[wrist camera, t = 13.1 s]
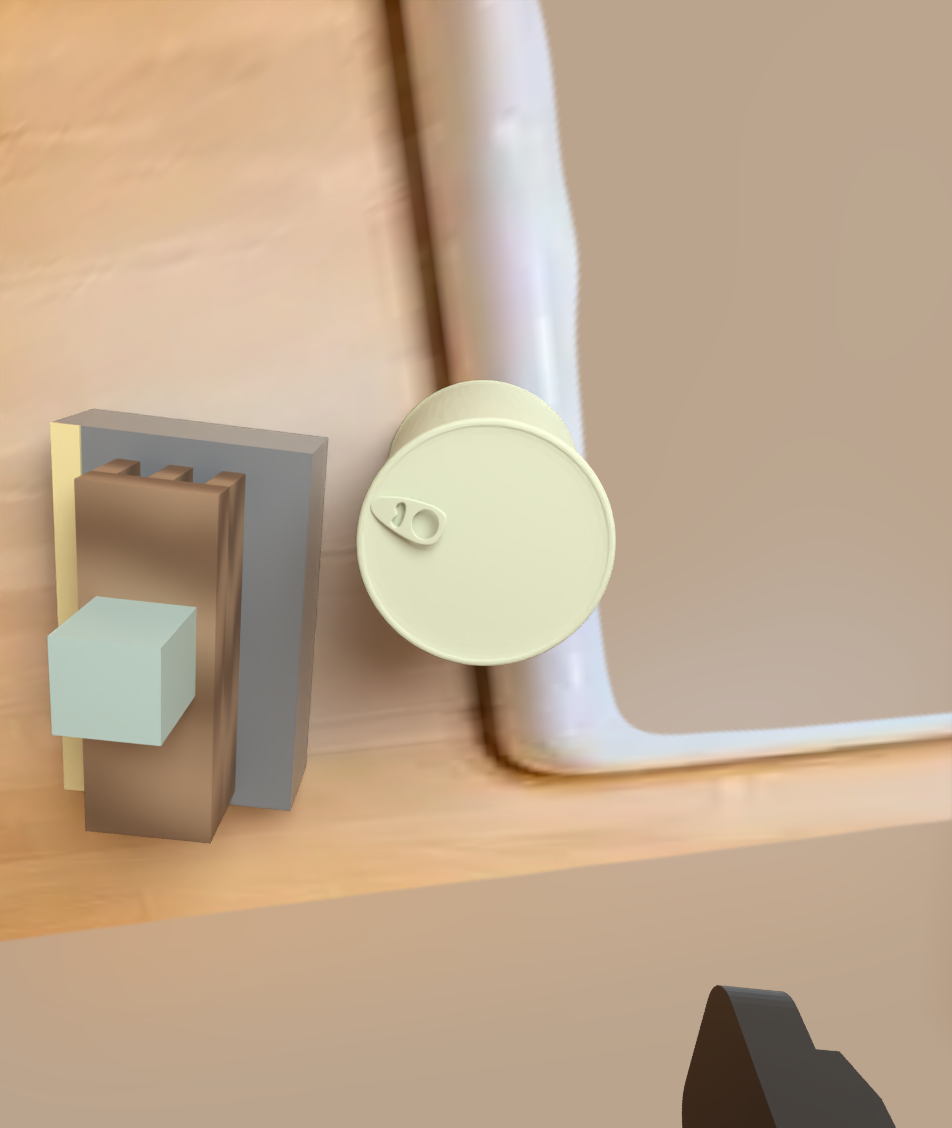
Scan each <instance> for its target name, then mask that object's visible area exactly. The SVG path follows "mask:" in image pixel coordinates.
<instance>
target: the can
mask: <svg viewBox="0 0 952 1128" xmlns="http://www.w3.org/2000/svg"><path fill="white" fill-rule="evenodd" d="M615 544H616V537H615V525H614V519H613V515H612V510H611V506H610V503H609V500H608V498H607V495H606V493H605V491H604V489H603V486H602V485H601V483H600V481H599V479H598V478H597V476H596V475H595V473H594V472H593V470H592V469H591V467H590V466H589V465H588V464H587V462H586V461H585V460H584V459H583V458H582V457H581V456H580V455H579V454H578V453H577V451H576V448H575V445H574V442H573V440H572V437H571V435H570V433H569V431H568V429H567V427H566V426H565V424H564V423H563V421H562V420H561V419H560V417H559V416H558V415H557V413H556V412H555V411H554V410H553V409H552V408H551V407H550V406H549V405H548V404H546V403H545V402H544V401H543V400H541V399H540V398H539V397H537V396H536V395H534V394H533V393H531V392H529V391H527V390H525V389H523V388H520V387H518V386H515V385H512V384H509V383H504V382H500V381H492V380H474V381H467V382H462V383H458V384H454V385H451V386H449V387H446V388H444V389H441V390H439V391H437V392H435V393H434V394H432V395H430V396H429V397H427V398H426V399H425V400H423V401H422V402H421V403H420V404H418V405H417V406H416V407H415V408H414V409H413V410H412V411H411V412H410V414H409V415H408V416H407V417H406V419H405V420H404V421H403V423H402V425H401V426H400V428H399V429H398V431H397V433H396V435H395V438H394V440H393V442H392V445H391V448H390V452H389V456H388V460H387V462H386V463H385V464H384V466H383V467H382V468H381V469H380V471H379V472H378V474H377V475H376V477H375V478H374V480H373V482H372V484H371V485H370V487H369V489H368V491H367V493H366V496H365V498H364V501H363V503H362V507H361V510H360V514H359V519H358V524H357V534H356V551H357V559H358V565H359V570H360V574H361V577H362V580H363V583H364V586H365V588H366V590H367V593H368V595H369V597H370V599H371V601H372V602H373V604H374V605H375V607H376V609H377V610H378V612H379V613H380V614H381V616H382V617H383V618H384V619H385V620H386V622H387V623H388V624H389V625H390V626H391V627H392V628H393V629H394V630H395V631H396V632H397V633H398V634H399V635H401V636H402V637H403V638H404V639H406V640H407V641H408V642H410V643H411V644H413V645H415V646H416V647H418V648H420V649H421V650H423V651H425V652H427V653H429V654H432V655H434V656H436V657H439V658H442V659H445V660H448V661H451V662H456V663H461V664H467V665H478V666H492V665H504V664H510V663H515V662H519V661H523V660H526V659H529V658H532V657H535V656H537V655H539V654H542V653H544V652H546V651H548V650H550V649H551V648H553V647H555V646H556V645H558V644H560V643H561V642H563V641H564V640H565V639H566V638H568V637H569V636H570V635H572V634H573V633H574V632H575V631H576V630H577V629H578V628H579V627H580V626H581V625H582V624H583V623H584V622H585V621H586V620H587V618H588V617H589V616H590V615H591V613H592V612H593V611H594V609H595V608H596V606H597V604H598V603H599V601H600V599H601V597H602V596H603V594H604V592H605V589H606V587H607V584H608V582H609V578H610V576H611V572H612V568H613V564H614V557H615Z"/></svg>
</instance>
